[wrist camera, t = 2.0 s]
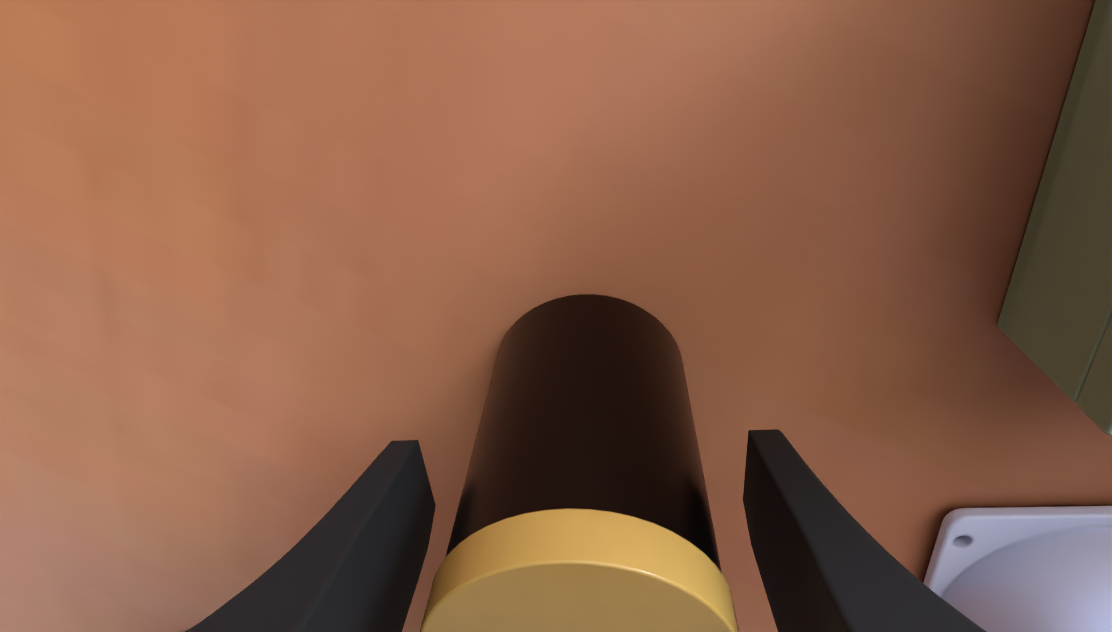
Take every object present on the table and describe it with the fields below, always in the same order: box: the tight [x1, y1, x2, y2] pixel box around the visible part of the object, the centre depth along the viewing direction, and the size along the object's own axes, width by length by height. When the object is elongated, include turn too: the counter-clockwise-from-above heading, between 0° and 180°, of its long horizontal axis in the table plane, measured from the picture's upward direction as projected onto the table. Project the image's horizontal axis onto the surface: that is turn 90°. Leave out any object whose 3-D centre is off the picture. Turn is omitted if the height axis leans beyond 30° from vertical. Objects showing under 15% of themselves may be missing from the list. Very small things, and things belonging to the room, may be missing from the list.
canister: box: [420, 295, 739, 632], centre depth 14 cm, size 5×5×8 cm
